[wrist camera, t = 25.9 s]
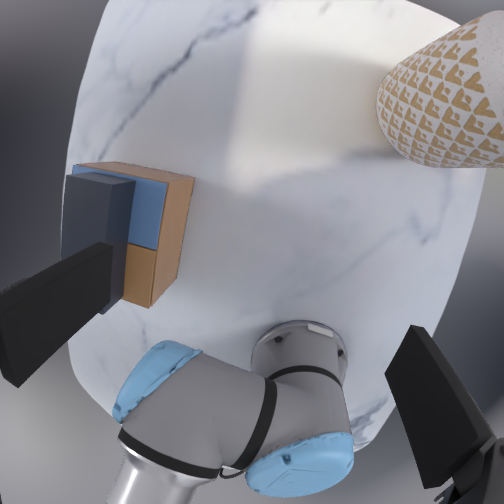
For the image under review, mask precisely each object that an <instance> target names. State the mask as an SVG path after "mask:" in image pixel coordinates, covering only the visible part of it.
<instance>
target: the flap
mask: <svg viewBox="0 0 504 504" xmlns="http://www.w3.org/2000/svg"><path fill="white" fill-rule="evenodd" d="M88 172H96V173H101V174H106V175H111V176H116V177H121V178H126V179H131V180H136V185H135V191H134V198H133V205H132V212H131V219H130V227H129V235H128V242H130V243H133V244H137V245H140V246H144V247H147V248H150V249H154V250H156V249H157V244H158V237H159V230H160V224H161V217H162V211H163V205H164V200H165V194H166V189H167V183H163V182H158V181H154V180H149V179H144V178H139V177H135V176H130V175H125V174H120V173H115V172H110V171H105V170H100V169H94V168H89V167H83V166H78V165H73V170H72V174H80V173H88Z"/></svg>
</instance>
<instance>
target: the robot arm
mask: <svg viewBox="0 0 504 504" xmlns="http://www.w3.org/2000/svg"><path fill="white" fill-rule="evenodd" d="M112 259H113V246H112V245H109V244H106V243H103V242H100V241H99V242H97V243H95V244H93V245H91V246H89V247H87V248H85V249H83V250H81V251H79V252H77V253H75V254H73V255H71V256H69V257H67V258H65V259H64V260H62V261H60V262H58V263H56V264H54V265H52V266H50V267H48V268H47V269H45V270H43V271H41V272H40V273H38V274H36V275H34V276H32V277H29V278H26V279H22V280H19V281H17V282H15V283H14V284H12V285H10V287H7V288H5V289H3V290H2V292H1V291H0V370H1V373H2V375H3V377H4V378H5V379H6V380H7V381H9V382H10V383H11V384H13V385H14V386H15V387H17V388H19V387H20V386H21V385H22V384H23V383H24V382H25V381H26V380H27V379H28V378H29V377H30V376H31V375H32V374H33V373H34V372H35V371H36V370H37V369H38V368H39V367H40V366H41V365H42V364H43V363H44V362H45V361H46V360H47V359H48V358H49V357H51V356H52V355H53V354H54V353H55V352H56V351H57V350H58V349H59V348H60V347H61V346H62V345H63V344H64V343H65V342H66V341H68V340H69V339H70V338H71V337H72V336H73V335H74V334H75V333H76V332H77V331H78V330H79V329H81V328H82V327H83V326H84V325H85V324H86V323H87V322H88V321H89V320H91V319H92V318H93V317H94V316H95V315H96V314H97V313H98V312H99V311H101V310H102V309H103V308H104V307H105V306H106V305H107V304H109V303H110V299H111V274H112ZM347 361H348V360H347V352H346V349H345V345H344V343H343V341H342V339H341V338H340V336H339V335H338V334H337V333H336V332H335V331H333V330H332V329H331V328H329V327H327V326H325V325H323V324H320V323H317V322H312V321H291V322H286V323H283V324H280V325H278V326H275V327H274V328H272V329H270V330H269V331H267V332H266V333H265V334H264V335H263V336H261V338H260V339H259V340H258V341H257V343H256V345H255V347H254V349H253V353H252V358H251V371H252V373H251V372H249V371H246V370H243V369H241V368H238V367H235V366H233V365H230V364H228V363H225V362H223V361H220V360H218V359H216V358H213V357H211V356H209V355H206V354H204V353H203V351H202V350H200V349H198V350H195V349H193V348H190V347H188V346H185V345H182V344H180V343H177V342H175V341H171V340H166V341H162V342H160V343H158V344H156V345H154V346H153V347H152V348H151V349H150V350H149V351H148V352H147V353H146V354H145V355H144V356H143V358H142V359H141V360H140V361H139V363H138V364H137V365H136V367H135V368H134V369H133V371H132V372H131V374H130V375H129V377H128V378H127V380H126V382H125V383H124V385H123V387H122V389H121V390H120V392H119V394H118V396H117V399H116V403H115V405H114V407H113V410H112V415H113V418H114V419H116V421H117V422H118V423H120V424H122V428H121V430H120V433H119V435H118V438H117V440H118V442H119V444H120V446H121V448H122V450H123V452H124V456H125V457H124V459H123V462H122V464H121V467H120V469H119V472H118V474H117V477H116V479H115V482H114V484H113V487H112V489H111V492H110V494H109V497H108V499H107V502H106V504H190V503H191V501H192V498H193V496H194V494H195V492H196V489H197V487H198V486H200V485H203V484H206V483H209V482H211V481H214V480H216V478H217V476H218V474H219V475H220V477H221V478H224V479H229V478H233V477H236V476H238V475H240V474H242V473H244V472H246V474H245V479H246V481H247V484H248V486H249V487H250V488H251V489H254V491H256V492H257V493H260V494H263V495H266V496H271V497H298V496H304V495H308V494H312V493H316V492H319V491H322V490H325V489H327V488H329V487H331V486H333V485H335V484H337V483H338V482H339V481H341V480H342V479H343V478H344V477H345V476H346V475H347V474H348V473H349V472H350V470H351V468H352V466H353V463H354V455H353V454H354V453H353V443H354V439H353V437H352V432H351V427H350V422H349V417H348V412H347V408H346V403H345V399H344V394H343V390H342V386H343V382H344V378H345V374H346V370H347ZM384 374H385V376H386V379H387V381H388V384H389V387H390V389H391V392H392V394H393V397H394V400H395V402H396V405H397V408H398V411H399V413H400V416H401V419H402V421H403V424H404V427H405V430H406V433H407V436H408V439H409V442H410V445H411V448H412V451H413V454H414V457H415V460H416V464H417V467H418V470H419V473H420V477H421V480H422V483H423V487H424V489H428V488H434V487H440V486H441V485H443V484H444V483H445V482H446V481H447V480H448V479H449V478H451V477H452V478H453V481H454V483H453V484H451V485H450V486H449V487H448V488H447V489H446V490H444V491H443V492H442V493H441V494H439V495H438V496H437V497H436V498H435V500H434V501H435V502H436V501H437V500H439V499H440V498H441V497H444V499H443V500H442V501H441V502H439V504H504V438H499V439H498V440H497V438H496V437H495V435H494V433H493V431H492V429H491V428H490V426H489V424H488V422H487V420H486V419H485V417H484V415H482V412H481V411H480V409H479V407H477V406H478V405H477V404H476V402H475V401H474V399H473V397H472V396H471V395H470V394H469V393H468V392H467V390H466V389H465V387H464V385H463V384H462V382H461V381H460V379H459V378H458V376H457V375H456V373H455V371H454V370H453V368H452V367H451V365H450V364H449V363H448V361H447V360H446V358H445V357H444V355H443V354H442V352H441V351H440V350H439V348H438V347H437V345H436V344H435V342H434V341H433V340H432V338H431V337H430V335H429V334H428V332H427V331H426V330H425V328H424V327H419V326H414V325H410V327H409V329H408V331H407V333H406V335H405V337H404V339H403V341H402V343H401V345H400V347H399V348H398V350H397V352H396V354H395V356H394V358H393V359H392V361H391V363H390V365H389V366H388V368H387V370H386V372H385V373H384ZM223 465H224V466H228V467H232V468H235V469H239V470H241V471H240V472H238V473H236V474H233V475H229V476H224V475H223V474H222V473H223V469H224V468H222V466H223ZM219 471H220V472H219ZM0 504H2V501H1V495H0Z"/></svg>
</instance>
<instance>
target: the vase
mask: <svg viewBox="0 0 504 504" xmlns="http://www.w3.org/2000/svg"><path fill="white" fill-rule="evenodd" d="M376 110H377V117H378V121H379V125H380V127H381V129H382V132H383V134H384V136H385V137H386V139H387V140H388V142H389V143H390V144H391V145H392V146H393V147H394V148H395V149H396V151H398V152H399V153H400V154H402V155H403V156H404V157H405V158H407V159H409V160H411V161H413V162H416V163H418V164H422V165H425V166H430V167H440V168H504V11H492V12H489V13H487V14H485V15H482V16H480V17H478V18H476V19H474V20H472V21H470V22H468V23H466V24H464V25H462V26H460V27H458V28H456V29H454V30H453V31H451V32H449V33H447V34H446V35H444V36H442V37H441V38H439V39H437V40H436V41H434V42H432V43H431V44H429V45H427V46H426V47H424V48H422V49H421V50H419V51H418V52H416V53H414V54H413V55H411V56H410V57H408V58H407V59H405V60H403V61H402V62H400V63H399V64H398V65H396V66H395V67H394V68H393V69H392V70H391V72H390V73H389V74H388V75H387V76H386V77H385V79H384V81H383V82H382V84H381V86H380V88H379V91H378V95H377V103H376Z"/></svg>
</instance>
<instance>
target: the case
mask: <svg viewBox="0 0 504 504" xmlns="http://www.w3.org/2000/svg"><path fill="white" fill-rule="evenodd" d="M135 185H136V180H131V179H126V178H121V177H116V176H111V175H106V174H101V173H96V172H88V173H80V174H72V175H66V183H65V193H64V204H63V219H62V246H61V261H62V260H64V259H65V258H67V257H69V256H71V255H73V254H75V253H77V252H79V251H81V250H83V249H85V248H87V247H89V246H91V245H93V244H95V243H97V242H99V241H100V242H103V243H106V244H109V245H112V246H113V259H112V274H111V299H110V303H109V304H107V305H106V306H105V307H104V308H103V309H102V310H101V311H99V312H98V313H100V314H102V315H103V314H105V313H106V312H107V311H108V310H109V309H110V308H111V307H112V306H113V305H114V304H115V303H117V302H118V301H119V300H120V299H121V298H122V297H123V295H124V279H125V266H126V254H127V244H128V235H129V227H130V219H131V212H132V205H133V198H134V191H135Z"/></svg>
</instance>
